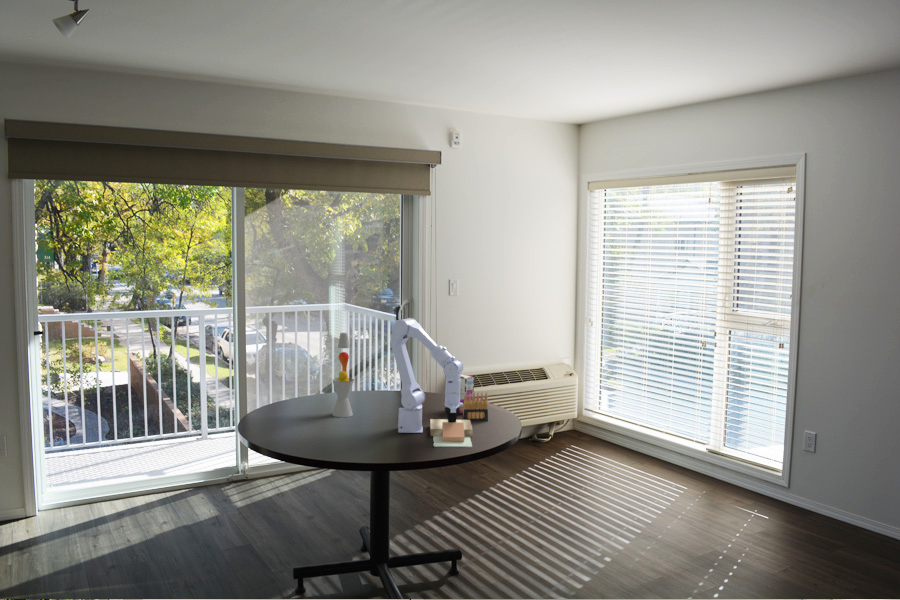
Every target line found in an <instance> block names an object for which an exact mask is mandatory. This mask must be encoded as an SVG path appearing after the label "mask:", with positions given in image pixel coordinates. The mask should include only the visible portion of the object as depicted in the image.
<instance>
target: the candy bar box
mask: <svg viewBox="0 0 900 600" xmlns="http://www.w3.org/2000/svg"><path fill="white" fill-rule="evenodd" d="M460 374H461V384H460V403H463V404H464V396H465V393H466V394H467V406H468V396H469V393H470V394H471V407H472V397H473V393H474V394H475V391H474V389H475V377H474V376H472V375H471V376H470V375H468V374H463V373H460ZM459 408H460V412H459V414H460V415H463V405H462V406H459Z"/></svg>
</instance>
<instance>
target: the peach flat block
mask: <svg viewBox="0 0 900 600" xmlns="http://www.w3.org/2000/svg"><path fill="white" fill-rule="evenodd" d="M442 436H443V441H459V442H464V438H465V436H464V423H458V422H442Z"/></svg>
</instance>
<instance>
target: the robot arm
mask: <svg viewBox="0 0 900 600" xmlns="http://www.w3.org/2000/svg"><path fill="white" fill-rule="evenodd" d="M391 332H392V333H391V338H390V346H391V349H392V353H393V356H394V360H395V364H396V366H397V369H398V373H399V377H400V381H401V384H402V387H401V390H400V394H401V395H400V396H401V398H400V399H401V400H400V403H401V405H402V407H399V408H398V420H397V421H398V422H397V432H398V433H403V434H404V433H405V434H409V433H410V434H411V433H412V434H423V433H424V431H423V429H424V428H423V427H424V426H423V422H422V421H423V404H424V403H425V401H426V394H425V392H424V391H423V389H422V388H421V385H420V384H419V383H418V382H417V381H416V377H415V374H414V370H413V366H412V363H411V359H410V355H409V353H408V348H407V345H406V343H407V342H408V340H409V338H413V339H417V341H419V342H420V343H421V344H422V345H423V346H424V347H425V348H426V349H428V351H430V356H431V357H432V359H433V360H434V361H435V362H436V363H438V365H439V366H440V368H442V369H443V373H444V374H445V391H444V406H445V407H444V412H445V413H446V414H445V415H446V417H447V419H448V422H456V420H458V419H457V418H458V415H459V414H460V413H459V412H460V408H459V406H462V405H463V403H460V384H461V374H462V372H463V370H464V365H463V363H462V361H461V360H460V359H459V358H456V357H455V356H453V355H452V354H451V353H449V351H448V350H447V349H448V348H447V347H446V346H443V345H438V344H437V343H436V342H435V341H434V340H433V338H431V337H430V335H429V334H428V333H427V332H426V331H425V330H424V328H423V327H422V325H421V324H420V323H419V322H417V320H416V319H415V318H413V317H408V318H404V319H398V320H396V321H394V323H393V324H392V326H391Z"/></svg>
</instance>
